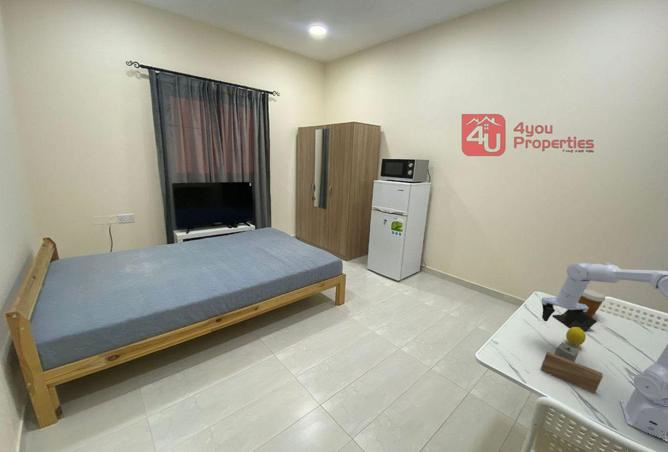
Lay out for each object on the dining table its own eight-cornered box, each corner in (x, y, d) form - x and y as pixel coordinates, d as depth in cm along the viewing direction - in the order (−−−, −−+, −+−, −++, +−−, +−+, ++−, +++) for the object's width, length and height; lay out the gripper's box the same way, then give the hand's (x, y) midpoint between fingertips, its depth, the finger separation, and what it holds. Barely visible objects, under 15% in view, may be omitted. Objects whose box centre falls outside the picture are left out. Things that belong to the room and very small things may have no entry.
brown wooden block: (594, 393, 87) (602, 376, 85) (540, 370, 94) (547, 353, 92) (594, 390, 88) (602, 373, 86) (540, 367, 96) (547, 351, 93)
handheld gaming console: (550, 314, 125) (567, 299, 123) (554, 319, 128) (571, 305, 127) (576, 334, 115) (596, 318, 113) (580, 339, 119) (599, 323, 117)
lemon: (584, 351, 105) (592, 333, 103) (568, 348, 106) (575, 331, 104) (575, 341, 110) (582, 324, 108) (560, 338, 111) (566, 321, 109)
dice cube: (552, 358, 101) (557, 346, 99) (558, 353, 103) (562, 342, 102) (569, 367, 97) (574, 356, 95) (574, 362, 99) (579, 351, 98)
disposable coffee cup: (587, 322, 123) (596, 299, 120) (565, 309, 132) (573, 287, 128) (602, 319, 126) (611, 297, 122) (579, 307, 135) (588, 286, 131)
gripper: (585, 289, 102) (569, 318, 107) (543, 282, 104) (529, 310, 109) (598, 302, 96) (580, 331, 101) (553, 294, 98) (538, 323, 103)
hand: (554, 321), depth 105 cm, fingers open, 7 cm apart
